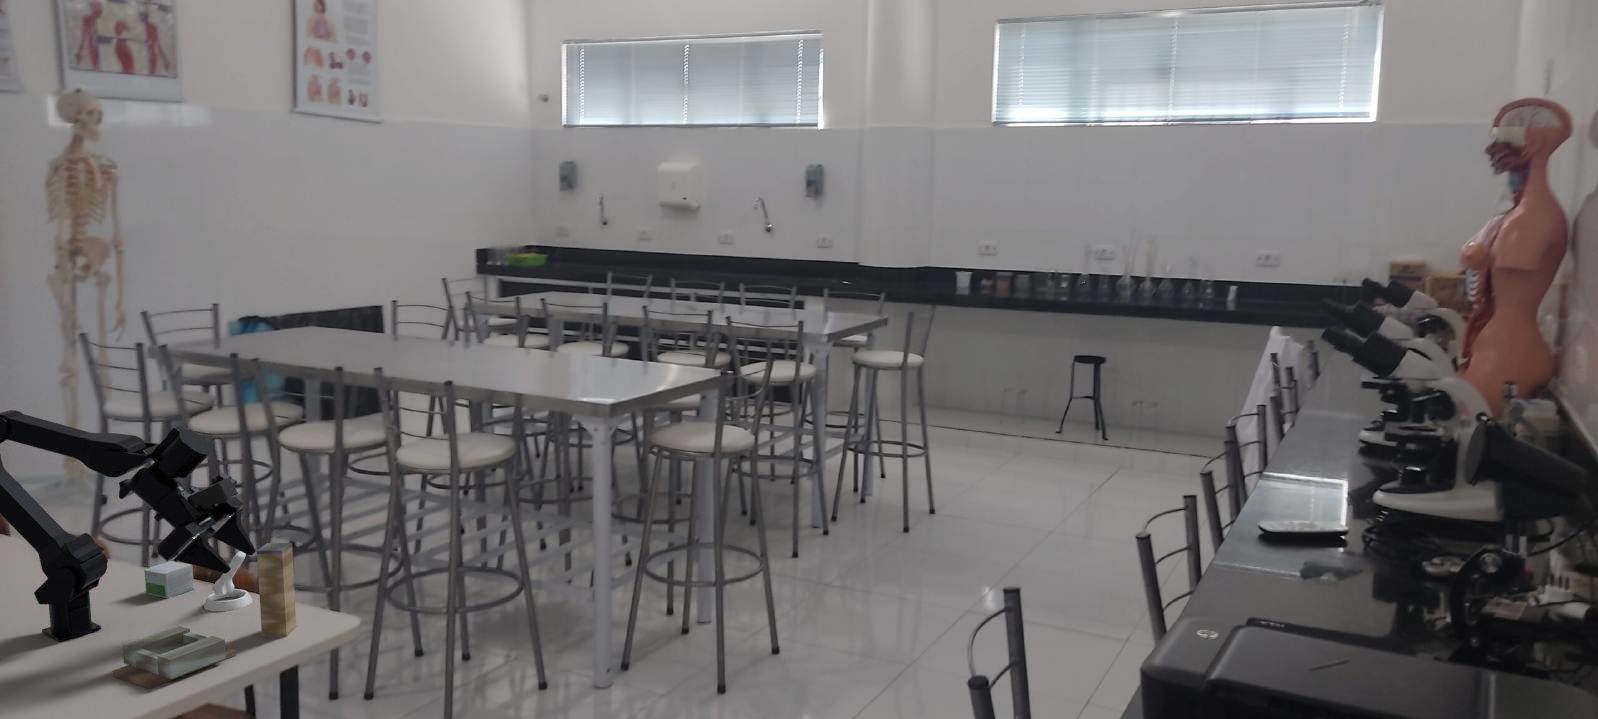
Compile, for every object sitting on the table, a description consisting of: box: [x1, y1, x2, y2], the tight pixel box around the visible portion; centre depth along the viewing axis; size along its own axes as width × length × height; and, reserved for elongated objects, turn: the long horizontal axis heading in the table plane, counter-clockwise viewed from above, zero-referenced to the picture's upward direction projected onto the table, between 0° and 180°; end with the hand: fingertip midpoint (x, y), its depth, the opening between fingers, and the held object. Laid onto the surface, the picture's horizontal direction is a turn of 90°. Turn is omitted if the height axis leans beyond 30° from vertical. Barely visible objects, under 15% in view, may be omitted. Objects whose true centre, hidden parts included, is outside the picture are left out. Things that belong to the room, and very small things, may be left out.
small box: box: [144, 560, 195, 599], centre depth 205 cm, size 6×6×5 cm
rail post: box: [256, 542, 297, 637], centre depth 187 cm, size 4×4×15 cm
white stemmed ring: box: [203, 550, 253, 613], centre depth 199 cm, size 8×12×7 cm
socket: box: [111, 625, 237, 690], centre depth 174 cm, size 12×14×4 cm
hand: (241, 562), depth 186 cm, fingers open, 9 cm apart
